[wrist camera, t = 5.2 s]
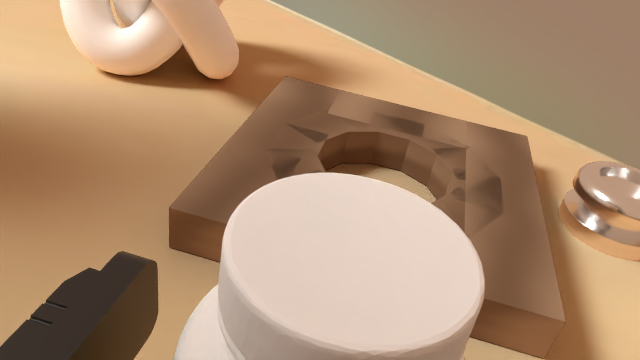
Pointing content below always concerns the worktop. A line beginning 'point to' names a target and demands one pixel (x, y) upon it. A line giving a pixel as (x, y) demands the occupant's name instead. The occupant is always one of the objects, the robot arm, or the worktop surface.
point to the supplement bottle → (338, 277)
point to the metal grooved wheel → (605, 209)
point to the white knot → (151, 34)
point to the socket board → (414, 160)
